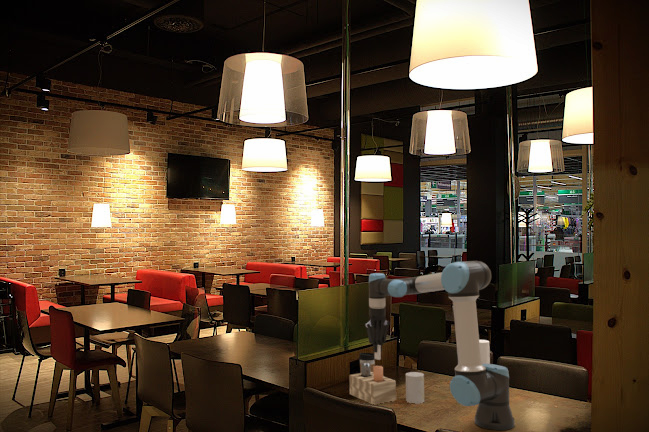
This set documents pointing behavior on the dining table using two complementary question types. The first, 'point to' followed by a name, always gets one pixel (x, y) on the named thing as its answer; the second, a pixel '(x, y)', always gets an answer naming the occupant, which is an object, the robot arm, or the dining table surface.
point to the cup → (415, 387)
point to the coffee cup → (367, 359)
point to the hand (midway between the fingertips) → (377, 359)
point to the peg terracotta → (378, 373)
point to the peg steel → (365, 369)
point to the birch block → (372, 389)
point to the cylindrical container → (484, 351)
